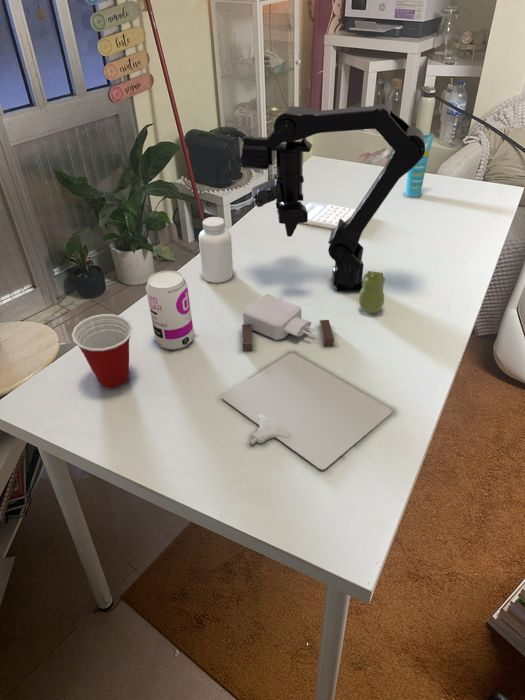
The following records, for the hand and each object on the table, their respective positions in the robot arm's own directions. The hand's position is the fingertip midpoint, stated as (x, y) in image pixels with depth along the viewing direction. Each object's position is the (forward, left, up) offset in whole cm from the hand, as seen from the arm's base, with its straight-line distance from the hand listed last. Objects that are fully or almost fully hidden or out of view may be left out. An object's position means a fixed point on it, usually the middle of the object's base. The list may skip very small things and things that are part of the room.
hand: (289, 235), depth 126 cm
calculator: (-15, -36, -12) cm, 41 cm away
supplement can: (+27, +23, -12) cm, 37 cm away
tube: (-46, -51, -12) cm, 70 cm away
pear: (-17, +16, -12) cm, 26 cm away
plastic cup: (+38, +35, -12) cm, 53 cm away
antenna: (+3, +47, -12) cm, 49 cm away
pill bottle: (+18, -4, -12) cm, 22 cm away
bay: (+3, +25, -12) cm, 28 cm away
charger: (+3, +22, -12) cm, 25 cm away
